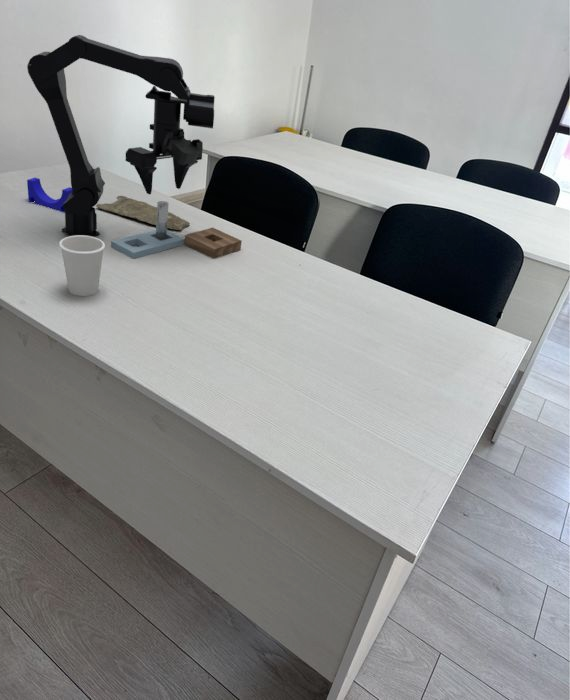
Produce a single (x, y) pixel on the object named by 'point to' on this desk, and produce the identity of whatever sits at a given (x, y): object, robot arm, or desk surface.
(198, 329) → the desk surface
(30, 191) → the blue semicircular cradle block
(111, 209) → the stone tool
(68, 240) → the dixie cup
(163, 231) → the grey cylindrical peg
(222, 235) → the socket block
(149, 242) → the block
